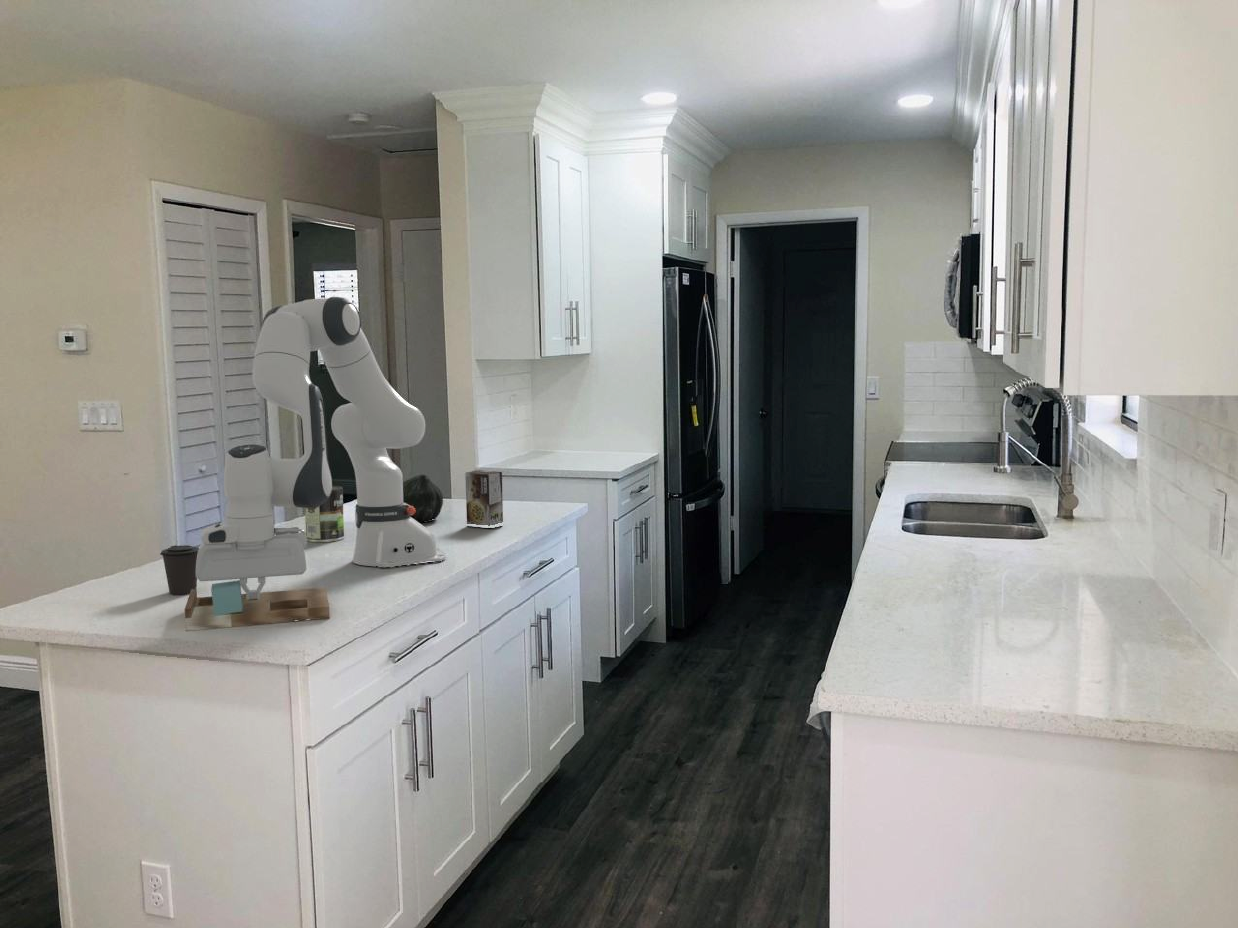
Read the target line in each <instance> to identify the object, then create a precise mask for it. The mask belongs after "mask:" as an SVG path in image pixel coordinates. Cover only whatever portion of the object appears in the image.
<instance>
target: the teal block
mask: <svg viewBox="0 0 1238 928" xmlns="http://www.w3.org/2000/svg"><path fill="white" fill-rule="evenodd" d="M210 589H211V590H210V591H211V593H210V594H211V596H212V600H213V608H214V616H215V615H222V614H228V613H235V612H242V610H243V603H242V595H241V594H242V587H241V585H240V579H236V580H231V581H225V582H224V581H223V582H218V583H217V582H216V583H212V584H211V588H210Z"/></svg>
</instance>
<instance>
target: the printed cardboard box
mask: <svg viewBox="0 0 1238 928" xmlns="http://www.w3.org/2000/svg"><path fill="white" fill-rule="evenodd" d="M464 475H465V478H464V479H465V501H466V502H465V504H466V505H465V506H466V507H465V508H466V525H467V524H476V525H488V526H490V525H495V524H498V523H502V522H503V523H504V515H503V514H504V512H503V511H504V509H503V505H504V504H503V501H504V499H503V472H502V471H499V470H498V471H497V470H496V471H495V470H482V469H481V470H480V469H478V470H477V469H476V470H472V471H467V472H465V474H464Z"/></svg>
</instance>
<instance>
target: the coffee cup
mask: <svg viewBox="0 0 1238 928" xmlns="http://www.w3.org/2000/svg"><path fill="white" fill-rule="evenodd" d="M198 550H199V547H197V546H192V545H187V544H186V545H185V544H184V545H172V546H170V547H168V548H165V549H163V550H161V552H160V553H159V554H160V556H162V557H163V563H164V570H165V575H166V581H167V588H168V593H169V594H170V595H171V596H185V595H190V592H191V589H197V584H198V579H197V578H196V560H197V554H198Z"/></svg>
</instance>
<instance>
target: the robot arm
mask: <svg viewBox="0 0 1238 928" xmlns="http://www.w3.org/2000/svg"><path fill="white" fill-rule="evenodd" d="M361 322H362V321H361V315H360V313H359V311H358V308H357V307H356V306H355V304H354V303H352V302H351V301H350V299H348V298H345V297H341V296H331V297H329V298H310V299H303V301H297V302H293V303H290V304H286V305H285V304H283V305H278V306H276V307H273V308H271V309H270V310H267V312H266V313H265V315H264V317H263V320H262V322H261V329H260V332H259V335H258V339H257V342H256V347H255V352H254V358H253V364H252V382H253V385H254V387H255V390H256V391H257V393H258V394H259V395H260V396H261V397H263V398H264V399H265V400H266V401H268V402H270V403H271V404H273V405H274V406H278V407H280V408H282V409H284V410H288V411H290V412H293V413H295V414H297V415H298V416H300V418H301V423H302V437H303V452H304V453H303V455H302V456H300V457H299V458H273V457H272V458H271V457H270V455H269V450H268V448H267V447H266V446H264V445H260V444H243V445H237V446H234V447H233V448H232V447H231V449H229V450H228V451H227V452H226V455H225V460H224V461H225V462H224V470H223V471H224V472H223V493H224V497H225V500H226V510H225V514H224V516H225V518H224V519H225V521H222V522H220V523H216V524H214V525H210V526H208V527H205V528H204V529H202V532H201V534H200V538H201V542H202V543H200V545H199V547H198V548H199V550H198V554H197V560H196V578H197V581H199V582H200V583H201V582H213V581H227V580H240V587H241V589H242V590H243V592H244V593H245V594H246V600H247V601H251V600H260V593H261V591H262V589H263V588H264V586H265V584H266V578H269V577H271V578H272V577H282V576H284V577H285V576H299V575H303V574H304V573H306V571H307V560H306V553H305V550H304V549H305V548H306V547H307V545H308V541H307V534H306V530H303V529H301V528H300V527H297V526H296V527H295V526H293V527H280V528H279V527H276V528H275V511H274V508H273V507H277V508H278V507H281V508H282V507H284V508H285V507H287V508H289V507H290V508H291V507H295V508H301V509H302V508H303V509H305V508H309V509H316V508H317V507H319V506H320V505H322V504H323V503H324V502H325V501H326V500H327V499H328V498H329V497H330V495H331V491H332V486H333V481H332V474H331V469H330V468H331V467H330V462H329V451H328V450H329V449H328V441H327V440H328V436H327V435H328V434H327V425H326V422H327V421H326V414H325V413H326V411H325V405H324V404H325V403H324V399H323V395H322V393H321V390H320V388H319V386H317V385H315V384H314V383H313V382H312V380H311V377H310V363H311V352H316V351H318V350H319V352H320V354H321V358H322V359H323V363H324V365H325V366H326V369H327V372H328V373H329V375H330V378H331V381H332V382H333V385H334V387H335V389H336V392H337V393H338V394H339V395H340V396H341V397H342V398H343V399H345V400H347V401H349V402H350V403H349V402H348V403H346V404H342V405H340V406H338V407H336V409H335V410H334V412H333V414H332V416H331V421H330V426H331V431H332V434H333V436H334V437H335V439H336V440H337V441H339V442H340V444H341V445H342V446H343V447H344V449H345V450H346V452H347V453H348V457H349V458H350V462H351V463H352V466H353V469H354V470H353V471H354V476H355V485H356V488H355V489H356V503H357V504H355V510H354V515H355V516H354V517H355V519H354V521H355V527H356V539H355V548H354V553H353V557H352V560H351V562H352V563H353V564H355V565H356V564H357V565H359V566H366V567H367V566H369V567H376V566H378V567H377V568H380V567H390V568H396V567H395V566H399V567H402V566H401V565H407V566H409V565H408V564H414V563H420V562H426V561H441V560H443V559H444V558H445V557H446V553H445V551H443V550H442V549H440V548H437V544H436V543H437V542H436V538H435V536H434V533H433V532H432V531H431V530H430V529H428V528H427V527H425V526H424V525H423V524H422V523H420V522H419V521H416V520H415V519H413V518H412V517H411V516H412V515H413V514H414V513H415V511H416V510H415V508H414V507H413V506H410V505H408V504H406V503H404V502H403V482H404V481H403V479H404V478H403V472H402V470H401V468H400V467H399V466H398V465H397V464H395V463H394V462H393V461H392V459H391V458H390V456H389V454H388V451H387V449H395V450H399V449H406V448H411V447H414V446H416V445H418V444H419V443H420V442H422V440H423V438H424V436H425V434H426V433H425V432H426V419H425V417H424V415H423V413H422V411H421V410H420V409H418V408H417V407H415V405H412V404H410V403H409V402H408V401H406V400H405V399H404V398H403V397H402V396H401V395H400V394H399V393H398V392H397V391H396V390H395V389H394V388H393V387H392V385H391V384H390V383H389V381H388V380H387V379H386V377H385V376H384V374H383V372H382V371H381V368H380V365H379V364H378V362H377V359H376V357H375V355H374V352H373V351H372V347H371V346H370V344H369V341H368V338H367V337H366V335H365V333H364V331H363V330H362V327H361V325H362V323H361ZM445 559H446V558H445ZM443 561H444V560H443ZM441 562H442V561H441ZM254 578H255V579H256V578H257V583H258V585H257V587H256V589H250V588H249V587H248V585H247V584H248V579H254Z"/></svg>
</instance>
